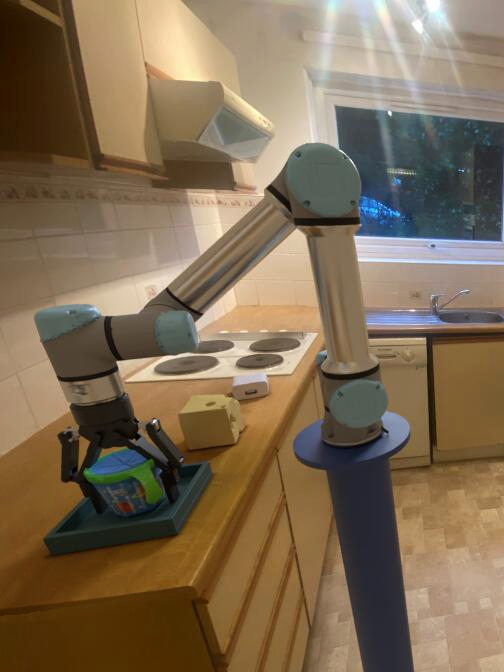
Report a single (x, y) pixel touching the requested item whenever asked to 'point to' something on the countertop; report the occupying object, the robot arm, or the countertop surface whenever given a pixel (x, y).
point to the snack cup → (127, 482)
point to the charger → (250, 386)
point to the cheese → (211, 421)
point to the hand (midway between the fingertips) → (140, 504)
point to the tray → (129, 518)
